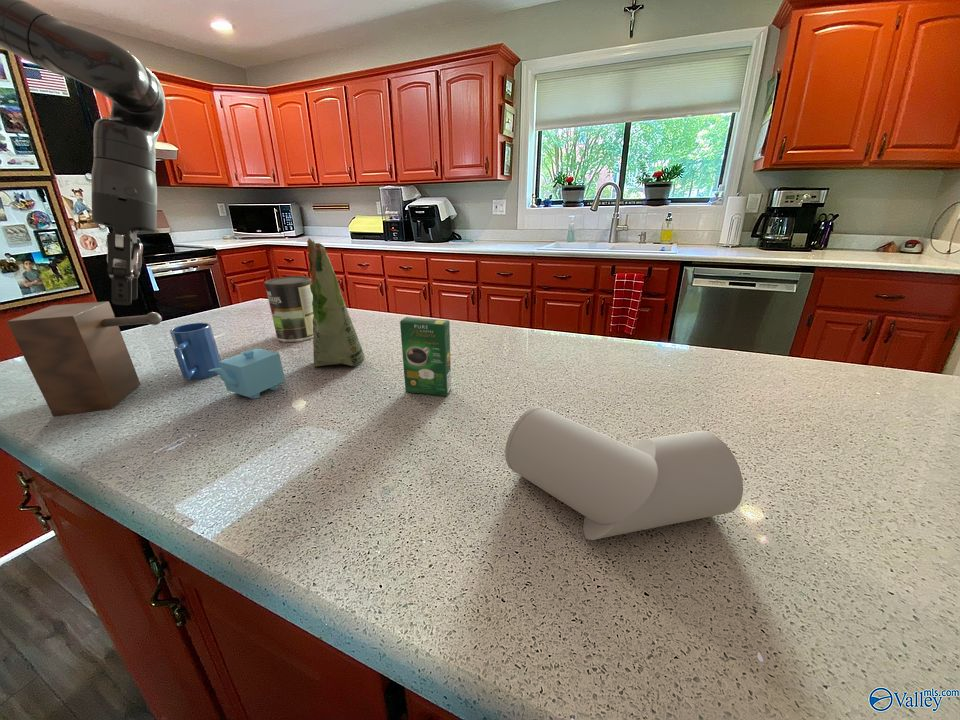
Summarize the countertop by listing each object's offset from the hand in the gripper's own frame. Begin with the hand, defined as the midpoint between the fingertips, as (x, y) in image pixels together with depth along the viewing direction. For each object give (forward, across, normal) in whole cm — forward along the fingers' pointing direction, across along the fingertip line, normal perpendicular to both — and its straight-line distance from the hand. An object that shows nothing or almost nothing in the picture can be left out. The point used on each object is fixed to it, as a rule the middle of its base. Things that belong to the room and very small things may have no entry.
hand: (125, 302), depth 63 cm
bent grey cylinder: (+11, +61, +46) cm, 77 cm away
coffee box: (+9, +26, +42) cm, 51 cm away
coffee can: (+7, -22, +31) cm, 38 cm away
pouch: (+9, +2, +34) cm, 35 cm away
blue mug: (+14, -6, +10) cm, 19 cm away
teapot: (+14, +7, +18) cm, 24 cm away
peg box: (+17, -5, 0) cm, 18 cm away
